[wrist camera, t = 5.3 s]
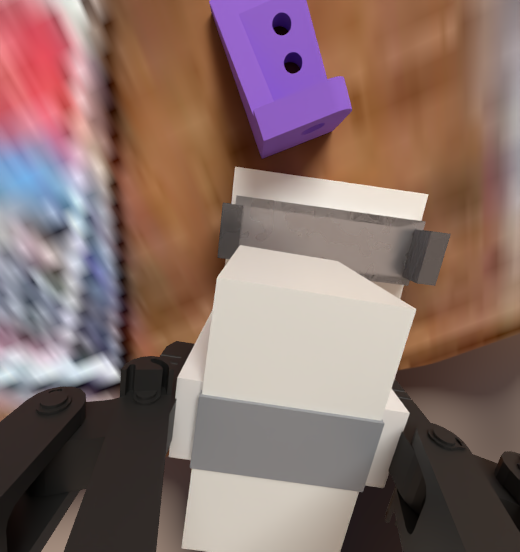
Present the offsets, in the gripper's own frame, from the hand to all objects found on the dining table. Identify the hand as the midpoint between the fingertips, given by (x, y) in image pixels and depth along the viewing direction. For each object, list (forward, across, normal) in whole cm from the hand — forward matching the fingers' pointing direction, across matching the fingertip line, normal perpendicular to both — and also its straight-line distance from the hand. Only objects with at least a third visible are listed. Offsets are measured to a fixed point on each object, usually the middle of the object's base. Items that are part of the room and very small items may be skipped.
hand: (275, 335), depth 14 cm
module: (0, 0, 0) cm, 0 cm away
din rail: (+14, +4, +4) cm, 15 cm away
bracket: (+14, -3, +18) cm, 23 cm away
